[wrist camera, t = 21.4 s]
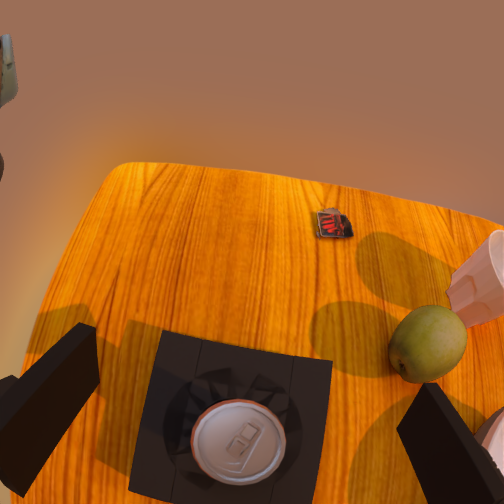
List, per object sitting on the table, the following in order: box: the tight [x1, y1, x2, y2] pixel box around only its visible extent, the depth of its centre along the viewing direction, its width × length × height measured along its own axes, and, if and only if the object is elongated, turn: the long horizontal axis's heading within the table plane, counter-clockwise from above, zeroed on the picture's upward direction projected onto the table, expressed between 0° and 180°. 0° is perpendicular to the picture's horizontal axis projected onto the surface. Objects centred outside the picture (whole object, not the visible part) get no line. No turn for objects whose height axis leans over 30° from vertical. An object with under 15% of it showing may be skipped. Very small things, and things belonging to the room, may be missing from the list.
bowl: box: [474, 407, 504, 476], centre depth 18 cm, size 19×19×8 cm
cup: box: [446, 230, 504, 328], centre depth 29 cm, size 10×10×10 cm
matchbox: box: [316, 208, 354, 239], centre depth 36 cm, size 5×5×1 cm
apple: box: [388, 305, 467, 383], centre depth 26 cm, size 8×9×8 cm
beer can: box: [190, 399, 286, 485], centre depth 19 cm, size 5×5×12 cm
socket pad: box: [128, 330, 333, 504], centre depth 22 cm, size 15×15×4 cm
